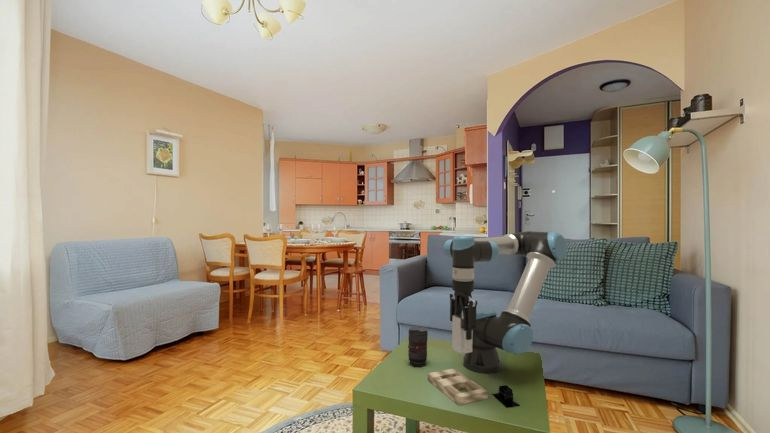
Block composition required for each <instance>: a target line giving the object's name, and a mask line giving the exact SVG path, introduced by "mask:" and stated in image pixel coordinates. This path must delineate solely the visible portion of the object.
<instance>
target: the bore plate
mask: <svg viewBox="0 0 770 433" xmlns="http://www.w3.org/2000/svg"><path fill="white" fill-rule="evenodd" d="M427 381H429V383H431V384H432V385H433V386H434V387H436V388H437V389H438V390H439V391H440V392H442V393H443V394H444V395H445V396H447V397H448V398H449V399H450V400H452V401H453V402H454V403H455V404H456V405H458V406H461V405H466V404H469V403H474V402H478V401H483V400H486V399H488V394H489V392H488V390H487V389H485V388H484V387H483V386H481V385H479V384H478V383H477V382H475V381H473V380H472V379H470V378H469V377H467V376H466V375H465V374H463V373H461V372H460V371H458V370H457V369H456V368H450V369H444V370H437V371H434V372H428V373H427ZM460 390H467V391H465V392H461V391H460Z"/></svg>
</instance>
